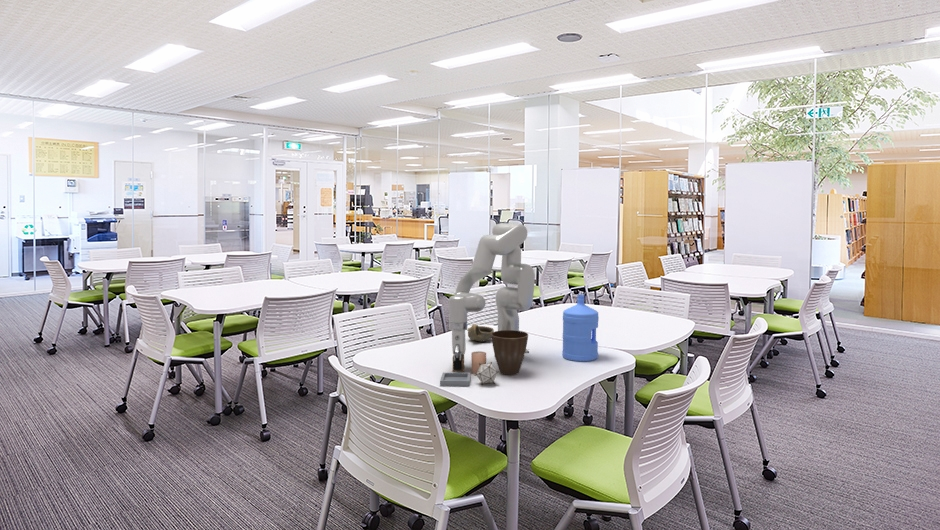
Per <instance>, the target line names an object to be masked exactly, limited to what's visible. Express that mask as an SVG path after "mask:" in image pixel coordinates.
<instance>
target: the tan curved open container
mask: <svg viewBox="0 0 940 530" xmlns="http://www.w3.org/2000/svg"><path fill="white" fill-rule="evenodd" d="M466 331H467V336H468V338H469V339H470V340H473V341H475V342H480V343H481V342H488V341H489V340H492V337H491V333H493V332H495V329H494V328H492V327H489V326H486V325H485V326H484V325H483V326H482V325H478V324H475V323H473V324H472V325H471V326H470V327H467V330H466Z"/></svg>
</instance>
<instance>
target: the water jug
mask: <svg viewBox="0 0 940 530" xmlns="http://www.w3.org/2000/svg"><path fill="white" fill-rule="evenodd" d="M576 297H577V299H576V301H577V303H576V304H575V305H572V306H571V307H568V308H566V309H564V310H563V312H562V351H561V352H562V357H563V358H564V359H566V360H568V361H572V362H592V361H595V360H597V359H598V358H599V351H598V349H599V342H598V341H597V329H598V328H599V312H598V311H597V310H596V309H594V308H592V307H590V306H588V305H586V304H585V294H584V295H583V294H578V295H577V296H576Z"/></svg>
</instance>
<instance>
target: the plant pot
mask: <svg viewBox="0 0 940 530" xmlns="http://www.w3.org/2000/svg"><path fill="white" fill-rule="evenodd" d="M491 337H492V339H491V341H492V349H493V354H495V356H494V358H495V360H496V364H497V368H498V370H499V373H500V374H502V375H505V376H512V375H513V376H514V375H517V374H519V372H520V369H521V367H522V365H523V361H524V358H525V355H526V353H525V351H526V349H527V345H528V340H529V339H528V338H529V333H528V332H525V331H521V330H519V331H515V330H501V331H498V330H496V331H495V330H494V332H493V333H491Z"/></svg>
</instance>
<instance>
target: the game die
mask: <svg viewBox="0 0 940 530" xmlns="http://www.w3.org/2000/svg"><path fill="white" fill-rule="evenodd" d="M479 365H480V367H479V369H478V372H477V374H474V376H475V377H477V378H478V379H479V381H480V382H481V385H480V386H483V385H484V384H491V383H492V384H493V385H495V384H496V383H495V380H496V376H497V375H498V373H500V371H498V370H497V369H496V368H495V367H494V365H493V362H492V361H490V363H486V364H482V365H481V364H480V363H479Z"/></svg>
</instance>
